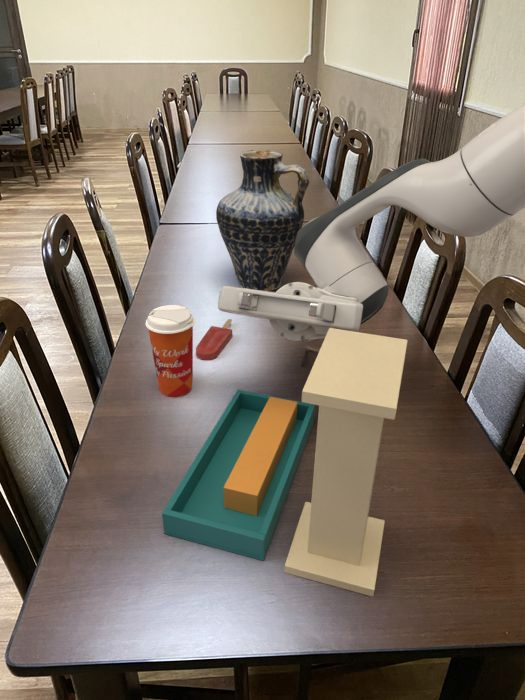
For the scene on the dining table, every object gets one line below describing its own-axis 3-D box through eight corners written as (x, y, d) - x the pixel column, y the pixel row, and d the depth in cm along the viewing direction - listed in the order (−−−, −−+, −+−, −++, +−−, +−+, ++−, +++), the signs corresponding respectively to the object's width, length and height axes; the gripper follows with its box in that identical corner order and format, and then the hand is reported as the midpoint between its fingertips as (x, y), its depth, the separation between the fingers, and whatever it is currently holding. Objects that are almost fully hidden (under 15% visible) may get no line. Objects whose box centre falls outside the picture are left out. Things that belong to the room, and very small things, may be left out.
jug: (206, 294, 123) (199, 158, 108) (234, 264, 139) (232, 142, 124) (293, 307, 118) (300, 166, 102) (312, 274, 134) (320, 148, 118)
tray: (237, 407, 87) (237, 389, 85) (313, 422, 84) (315, 404, 82) (164, 534, 65) (161, 513, 63) (263, 561, 62) (263, 540, 60)
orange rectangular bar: (269, 415, 84) (269, 396, 82) (296, 420, 83) (297, 401, 81) (224, 508, 68) (223, 487, 66) (257, 516, 67) (257, 495, 65)
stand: (306, 502, 70) (319, 326, 56) (384, 520, 67) (417, 341, 54) (281, 579, 60) (290, 388, 46) (372, 605, 57) (409, 411, 44)
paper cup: (146, 398, 89) (137, 323, 81) (160, 373, 95) (153, 301, 88) (193, 403, 88) (188, 327, 80) (203, 377, 94) (200, 305, 87)
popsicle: (240, 317, 110) (214, 354, 98) (240, 324, 111) (214, 362, 99) (219, 314, 111) (191, 350, 99) (220, 321, 112) (191, 358, 100)
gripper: (237, 282, 84) (206, 269, 71) (368, 300, 79) (361, 289, 65) (231, 322, 84) (198, 316, 71) (361, 343, 79) (353, 340, 66)
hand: (278, 304), depth 68 cm, fingers open, 8 cm apart
